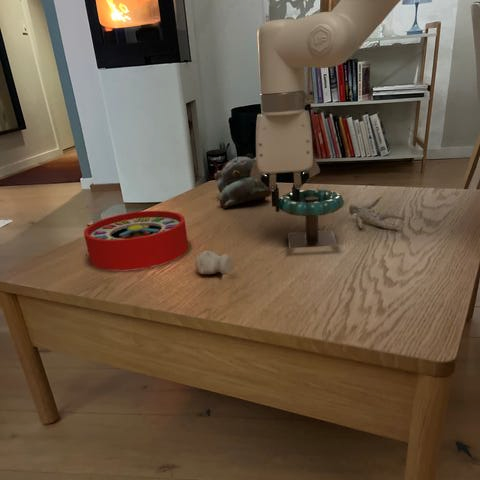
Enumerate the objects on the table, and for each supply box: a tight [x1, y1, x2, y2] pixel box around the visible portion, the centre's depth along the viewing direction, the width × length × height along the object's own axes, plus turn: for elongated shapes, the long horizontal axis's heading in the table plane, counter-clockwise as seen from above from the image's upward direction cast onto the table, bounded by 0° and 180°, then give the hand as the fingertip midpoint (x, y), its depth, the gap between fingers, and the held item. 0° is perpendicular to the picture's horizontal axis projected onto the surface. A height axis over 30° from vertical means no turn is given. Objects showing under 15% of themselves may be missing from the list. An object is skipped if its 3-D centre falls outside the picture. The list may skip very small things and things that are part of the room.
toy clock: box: [83, 210, 189, 272], centre depth 96 cm, size 20×6×20 cm
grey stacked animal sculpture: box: [214, 152, 271, 209], centre depth 125 cm, size 15×12×14 cm
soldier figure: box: [348, 196, 406, 231], centre depth 100 cm, size 8×5×12 cm
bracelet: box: [279, 188, 345, 217], centre depth 90 cm, size 12×12×2 cm
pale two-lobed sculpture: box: [194, 250, 235, 276], centre depth 83 cm, size 4×8×5 cm
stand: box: [287, 197, 338, 249], centre depth 91 cm, size 9×9×9 cm
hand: (285, 208), depth 90 cm, fingers closed on bracelet, 2 cm apart
